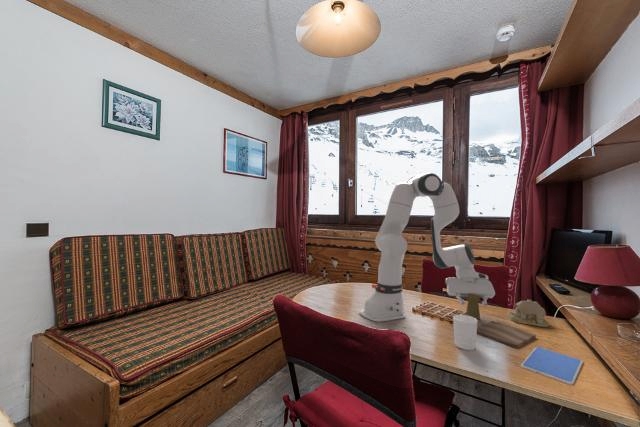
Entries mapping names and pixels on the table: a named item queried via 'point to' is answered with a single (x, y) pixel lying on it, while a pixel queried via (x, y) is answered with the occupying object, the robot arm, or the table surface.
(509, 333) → the walnut board
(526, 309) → the ceramic model
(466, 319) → the white cup
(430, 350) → the table surface
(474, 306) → the olive green waisted column
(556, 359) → the tablet computer
